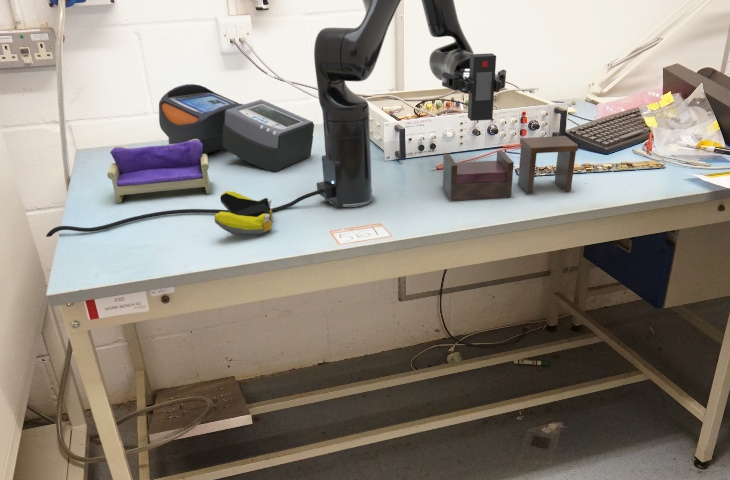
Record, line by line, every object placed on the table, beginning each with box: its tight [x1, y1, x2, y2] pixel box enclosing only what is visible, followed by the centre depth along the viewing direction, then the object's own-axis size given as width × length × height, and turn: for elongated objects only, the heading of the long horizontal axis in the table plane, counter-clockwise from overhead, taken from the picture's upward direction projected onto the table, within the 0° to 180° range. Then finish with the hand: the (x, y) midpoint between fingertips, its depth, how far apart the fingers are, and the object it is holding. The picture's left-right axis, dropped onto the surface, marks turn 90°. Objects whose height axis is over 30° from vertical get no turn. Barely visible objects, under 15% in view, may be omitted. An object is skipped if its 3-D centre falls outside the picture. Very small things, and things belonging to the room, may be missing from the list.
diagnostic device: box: [158, 83, 315, 172], centre depth 167 cm, size 38×17×22 cm
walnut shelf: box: [517, 135, 579, 195], centre depth 140 cm, size 10×8×10 cm
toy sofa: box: [106, 139, 211, 204], centre depth 143 cm, size 21×9×10 cm, turn 104°
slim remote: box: [467, 52, 497, 122], centre depth 129 cm, size 4×3×12 cm
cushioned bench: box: [442, 150, 515, 202], centre depth 139 cm, size 13×9×8 cm
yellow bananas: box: [214, 190, 273, 238], centre depth 125 cm, size 15×6×10 cm
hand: (485, 87), depth 127 cm, fingers closed on slim remote, 4 cm apart
